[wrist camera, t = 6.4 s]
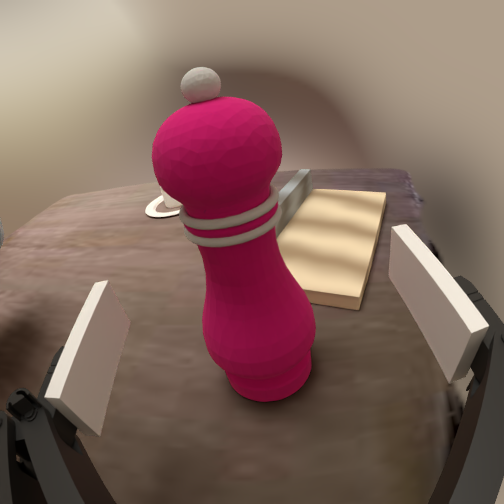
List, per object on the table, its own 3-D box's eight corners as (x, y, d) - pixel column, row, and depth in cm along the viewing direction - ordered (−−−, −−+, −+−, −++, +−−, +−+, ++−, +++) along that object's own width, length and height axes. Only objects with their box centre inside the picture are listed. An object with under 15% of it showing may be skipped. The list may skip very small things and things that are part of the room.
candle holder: (202, 184, 61) (196, 164, 59) (220, 203, 51) (214, 178, 49) (144, 205, 58) (137, 184, 56) (150, 228, 49) (141, 204, 46)
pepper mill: (249, 324, 27) (185, 74, 16) (331, 343, 23) (302, 50, 13) (204, 389, 22) (85, 102, 11) (294, 421, 18) (219, 55, 8)
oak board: (358, 310, 26) (359, 267, 23) (235, 289, 31) (225, 251, 29) (385, 202, 41) (385, 172, 38) (304, 198, 46) (300, 169, 44)
